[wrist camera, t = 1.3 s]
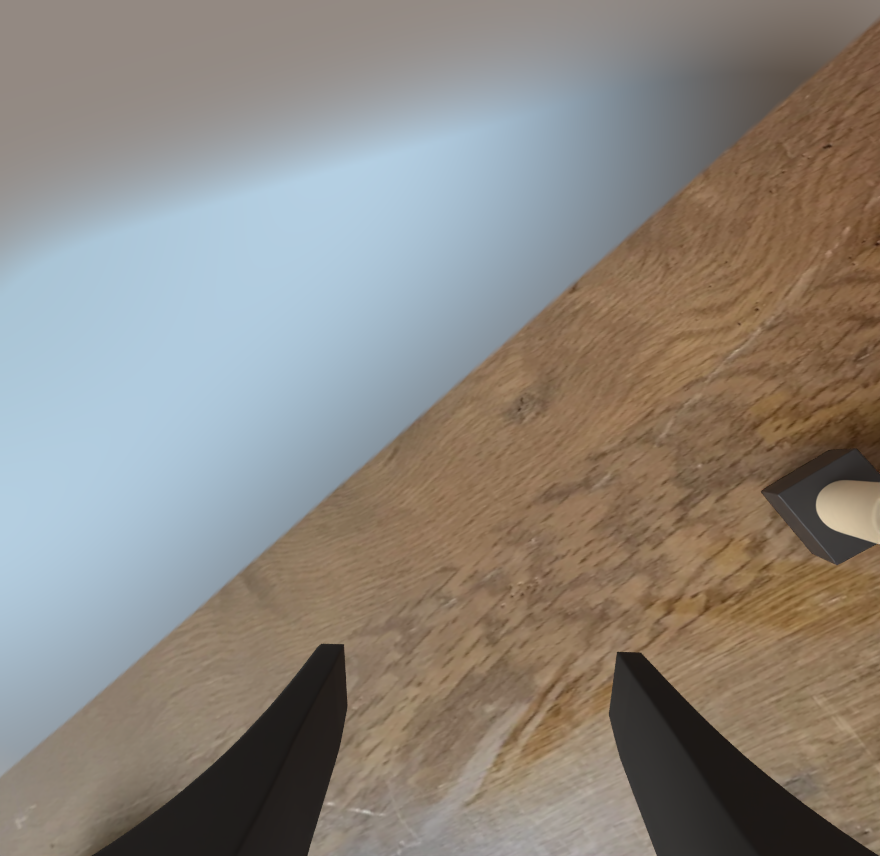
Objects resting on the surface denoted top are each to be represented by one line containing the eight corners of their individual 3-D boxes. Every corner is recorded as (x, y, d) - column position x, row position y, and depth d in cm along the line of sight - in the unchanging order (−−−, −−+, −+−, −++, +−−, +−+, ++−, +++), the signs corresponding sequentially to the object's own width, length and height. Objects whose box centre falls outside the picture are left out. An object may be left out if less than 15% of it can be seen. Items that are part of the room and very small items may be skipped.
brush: (829, 449, 21) (927, 442, 14) (886, 513, 20) (1018, 537, 13) (759, 491, 22) (821, 503, 15) (812, 554, 21) (902, 596, 14)
